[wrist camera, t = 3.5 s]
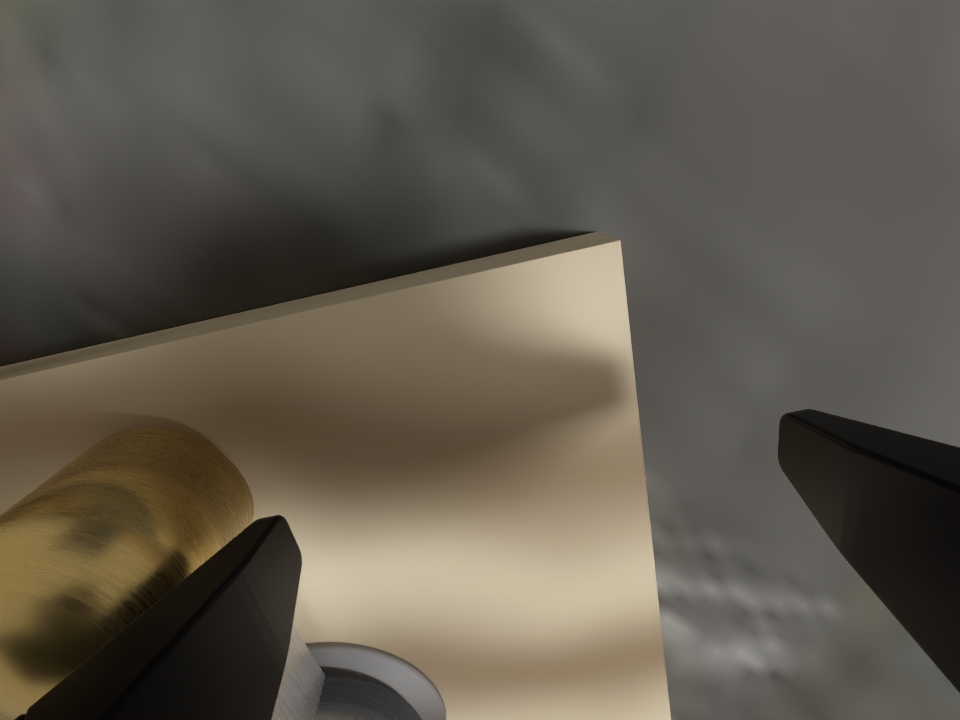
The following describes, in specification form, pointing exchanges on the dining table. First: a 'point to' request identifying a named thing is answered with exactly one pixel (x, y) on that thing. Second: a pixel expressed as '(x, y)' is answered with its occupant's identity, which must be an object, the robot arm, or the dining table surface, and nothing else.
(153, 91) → the dining table surface
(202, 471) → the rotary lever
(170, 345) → the board
